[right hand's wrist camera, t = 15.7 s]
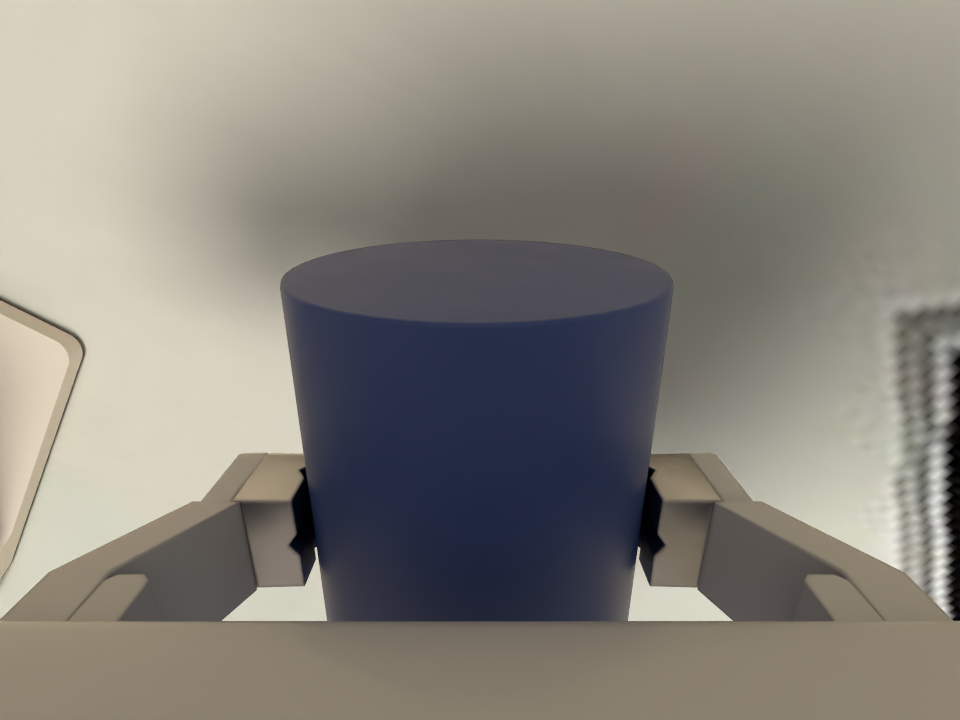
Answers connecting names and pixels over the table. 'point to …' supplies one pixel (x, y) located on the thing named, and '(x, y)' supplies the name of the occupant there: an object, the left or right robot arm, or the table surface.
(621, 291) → the cylinder
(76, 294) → the table surface
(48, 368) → the tablet stand
